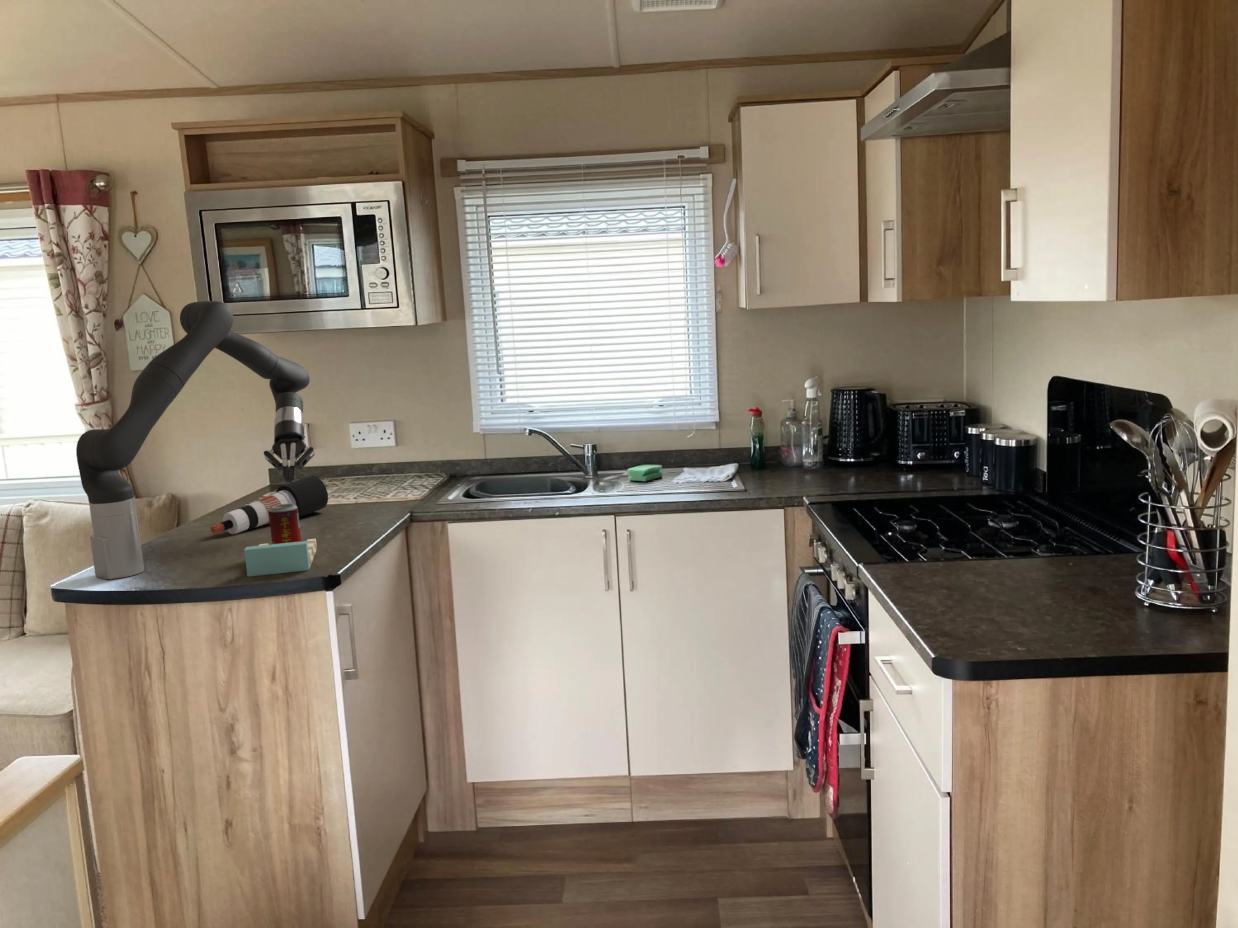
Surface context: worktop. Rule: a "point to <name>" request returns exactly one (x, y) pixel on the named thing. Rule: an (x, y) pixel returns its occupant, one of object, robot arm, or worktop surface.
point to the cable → (300, 493)
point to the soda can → (284, 524)
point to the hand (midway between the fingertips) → (289, 480)
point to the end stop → (277, 558)
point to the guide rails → (311, 549)
